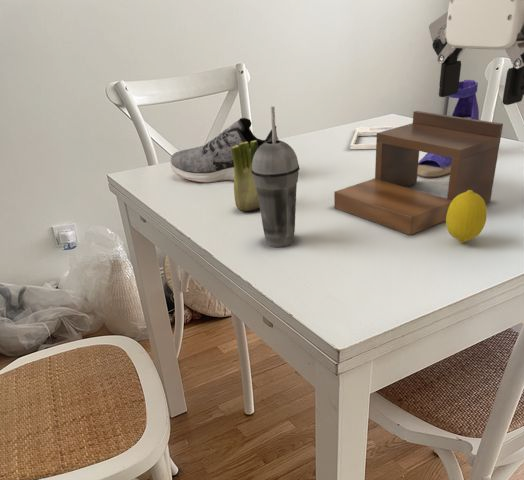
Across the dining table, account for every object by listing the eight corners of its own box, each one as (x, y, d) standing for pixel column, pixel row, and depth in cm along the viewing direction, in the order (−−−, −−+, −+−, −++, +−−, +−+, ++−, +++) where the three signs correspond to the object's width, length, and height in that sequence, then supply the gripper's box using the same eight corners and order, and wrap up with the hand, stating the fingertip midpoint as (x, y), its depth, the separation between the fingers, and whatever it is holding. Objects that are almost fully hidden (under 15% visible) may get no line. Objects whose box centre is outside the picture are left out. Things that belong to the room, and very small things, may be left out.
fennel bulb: (261, 202, 103) (255, 136, 96) (268, 210, 99) (263, 142, 92) (231, 207, 102) (224, 141, 95) (238, 216, 98) (231, 147, 91)
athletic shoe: (184, 169, 126) (175, 114, 119) (294, 172, 117) (291, 113, 110) (165, 182, 118) (155, 124, 112) (280, 186, 110) (276, 124, 103)
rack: (410, 181, 106) (416, 110, 99) (490, 202, 94) (503, 123, 86) (334, 207, 97) (333, 132, 90) (410, 235, 85) (417, 150, 77)
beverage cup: (254, 251, 84) (241, 115, 73) (260, 232, 90) (250, 104, 79) (300, 250, 83) (295, 112, 72) (304, 232, 89) (299, 101, 78)
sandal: (401, 173, 111) (406, 93, 102) (455, 150, 121) (464, 76, 112) (435, 180, 105) (444, 97, 97) (489, 156, 116) (501, 79, 107)
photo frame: (414, 124, 138) (413, 143, 124) (414, 129, 139) (413, 148, 125) (357, 126, 142) (350, 144, 128) (357, 130, 143) (350, 149, 128)
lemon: (484, 250, 78) (493, 196, 74) (445, 250, 79) (451, 197, 75) (479, 235, 83) (487, 183, 78) (441, 235, 84) (447, 184, 79)
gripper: (597, -78, 56) (559, 100, 65) (459, -61, 68) (443, 88, 78) (556, -76, 52) (521, 112, 62) (418, -58, 65) (407, 97, 74)
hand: (478, 98), depth 70 cm, fingers open, 9 cm apart
